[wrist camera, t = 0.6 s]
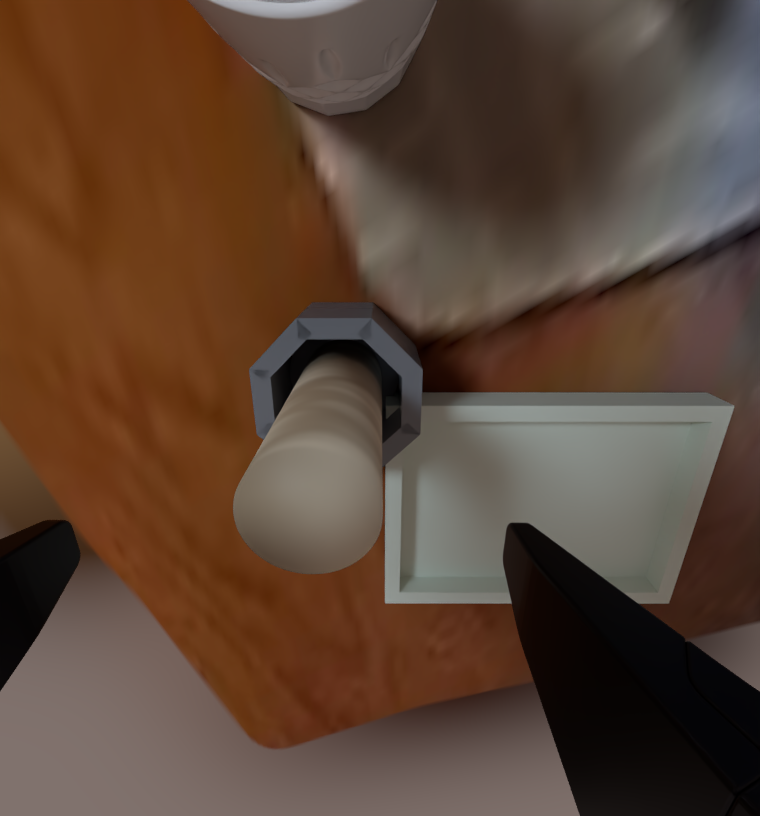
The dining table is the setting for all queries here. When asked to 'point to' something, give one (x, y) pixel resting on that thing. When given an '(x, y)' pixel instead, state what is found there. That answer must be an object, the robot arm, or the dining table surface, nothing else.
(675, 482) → the tray
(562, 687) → the robot arm
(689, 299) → the dining table surface
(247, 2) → the white cup
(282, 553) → the pin
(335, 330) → the pen cup
